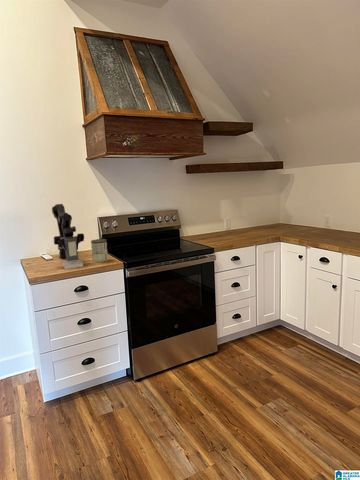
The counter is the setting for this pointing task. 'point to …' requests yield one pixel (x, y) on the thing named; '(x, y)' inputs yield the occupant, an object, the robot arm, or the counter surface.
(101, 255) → the coffee can
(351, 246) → the counter surface
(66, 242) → the photo frame
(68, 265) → the picture stand
